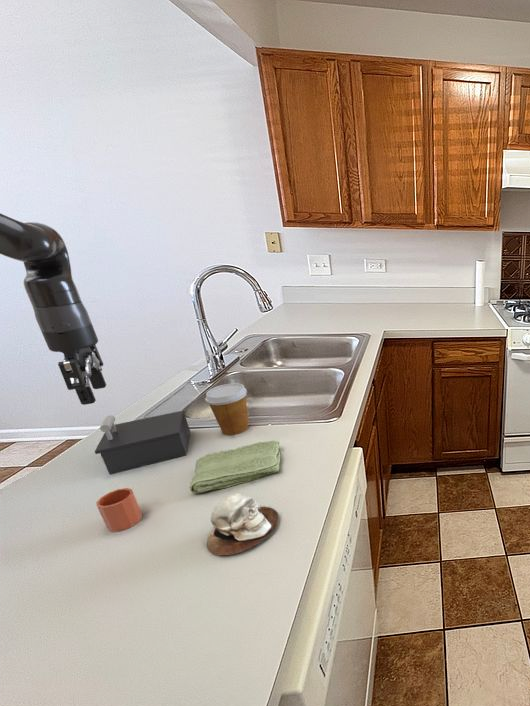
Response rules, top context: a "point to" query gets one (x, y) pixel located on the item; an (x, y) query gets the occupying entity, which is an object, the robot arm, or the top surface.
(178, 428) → the lid
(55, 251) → the robot arm
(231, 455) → the washcloth
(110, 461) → the dark grey box
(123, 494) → the creamer cup
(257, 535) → the skull
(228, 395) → the disposable coffee cup
